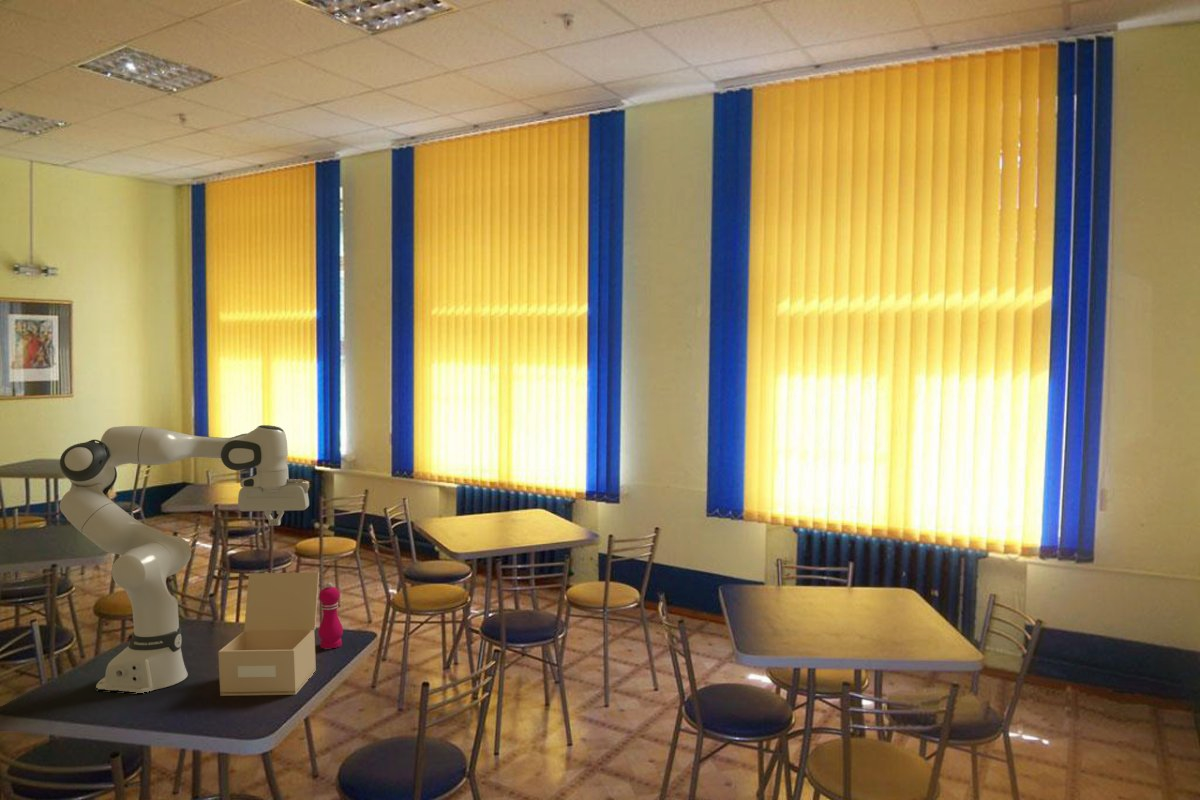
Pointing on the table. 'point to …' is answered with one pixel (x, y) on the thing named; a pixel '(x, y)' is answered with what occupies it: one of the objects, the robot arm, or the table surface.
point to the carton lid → (281, 601)
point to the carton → (267, 662)
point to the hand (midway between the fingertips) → (274, 525)
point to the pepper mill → (330, 618)
